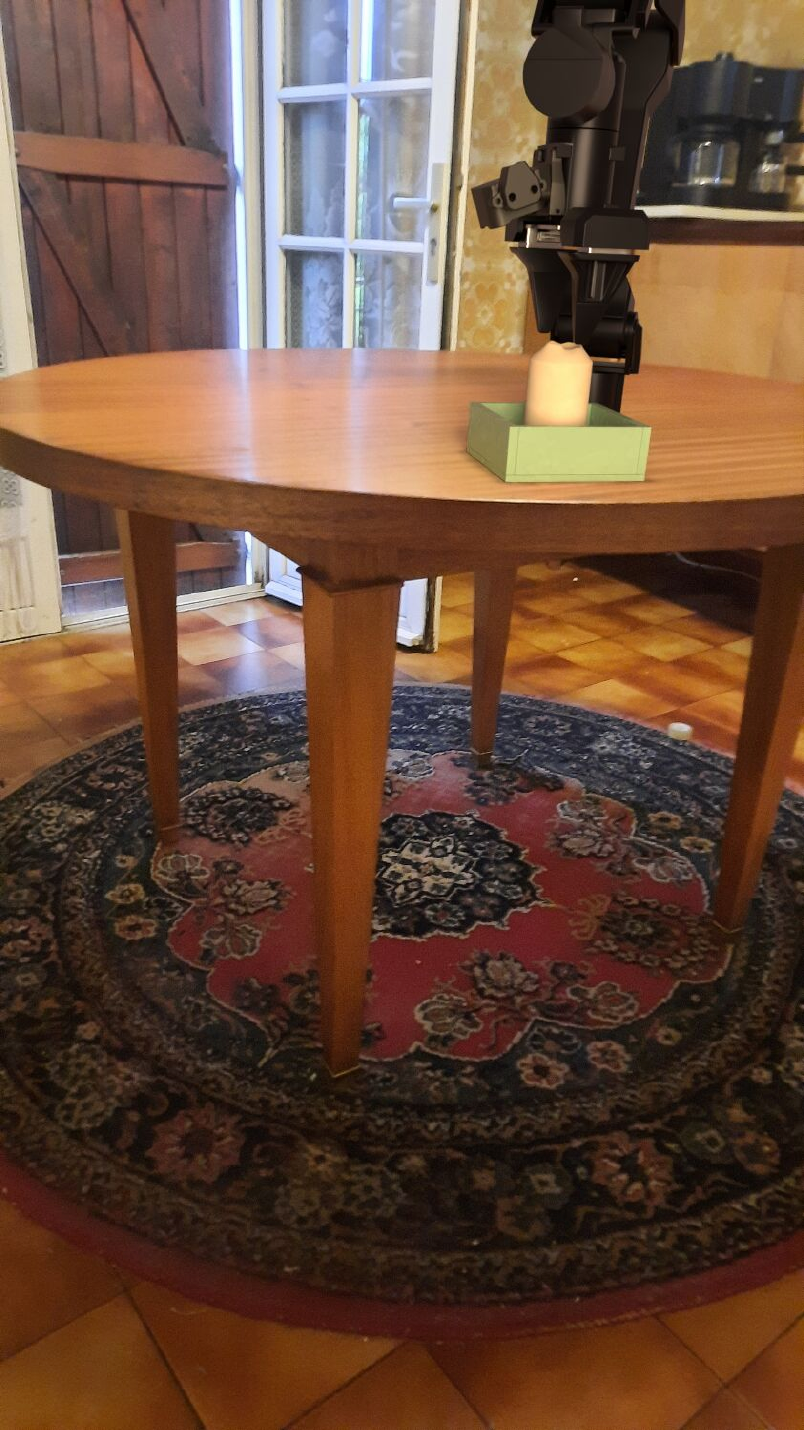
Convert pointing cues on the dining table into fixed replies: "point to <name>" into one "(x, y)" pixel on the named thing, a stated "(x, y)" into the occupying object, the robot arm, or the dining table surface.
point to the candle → (558, 385)
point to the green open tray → (557, 445)
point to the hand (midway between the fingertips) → (561, 338)
